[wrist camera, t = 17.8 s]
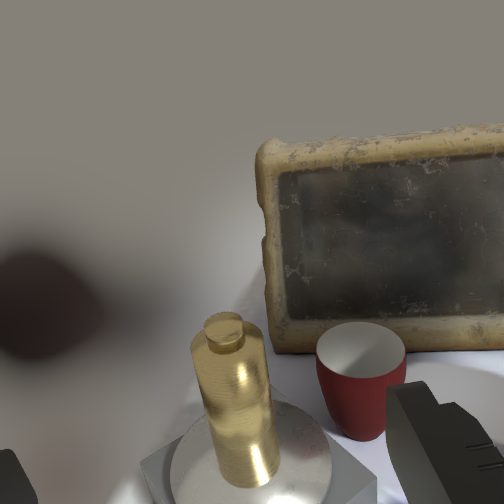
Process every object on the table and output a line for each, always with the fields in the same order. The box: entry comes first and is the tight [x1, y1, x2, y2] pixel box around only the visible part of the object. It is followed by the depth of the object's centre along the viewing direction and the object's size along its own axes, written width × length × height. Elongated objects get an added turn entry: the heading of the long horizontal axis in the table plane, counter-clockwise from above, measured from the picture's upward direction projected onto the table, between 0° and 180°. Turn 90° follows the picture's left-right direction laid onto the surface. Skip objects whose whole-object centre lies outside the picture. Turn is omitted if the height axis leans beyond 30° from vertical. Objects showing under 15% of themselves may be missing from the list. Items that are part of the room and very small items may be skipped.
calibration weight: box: [191, 312, 281, 489], centre depth 34 cm, size 5×5×14 cm
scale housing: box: [140, 385, 377, 504], centre depth 39 cm, size 14×15×5 cm
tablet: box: [255, 122, 504, 354], centre depth 54 cm, size 33×14×25 cm, turn 88°
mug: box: [315, 321, 406, 442], centre depth 45 cm, size 10×8×10 cm
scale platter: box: [170, 399, 332, 504], centre depth 38 cm, size 13×13×1 cm
